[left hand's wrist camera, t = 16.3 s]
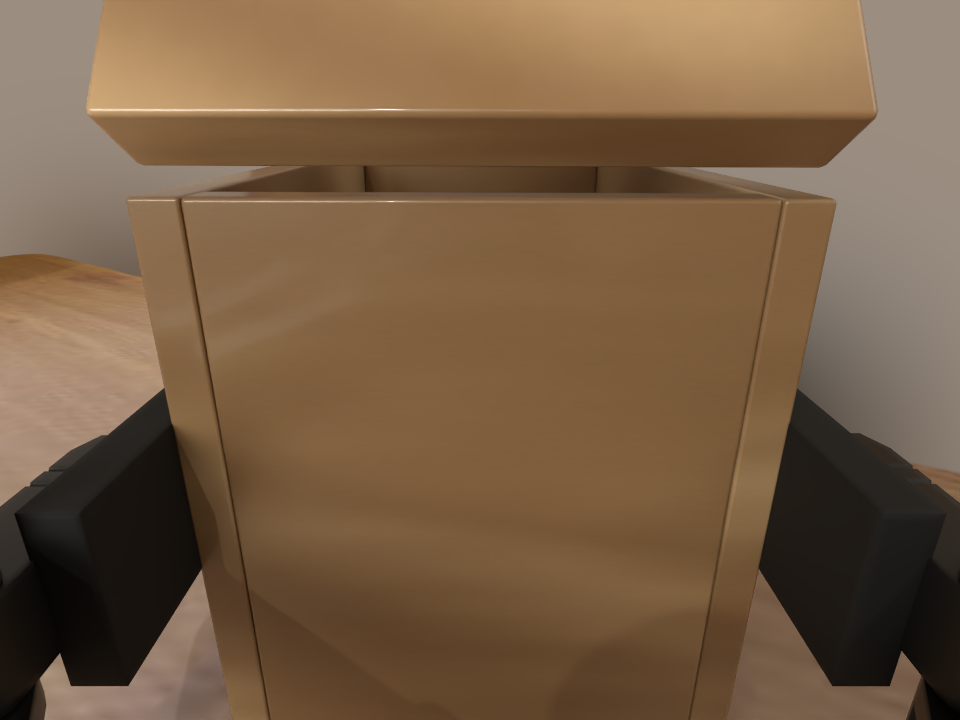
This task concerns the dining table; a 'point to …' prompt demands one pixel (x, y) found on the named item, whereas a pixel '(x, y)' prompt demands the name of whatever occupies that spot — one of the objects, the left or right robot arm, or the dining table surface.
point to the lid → (482, 82)
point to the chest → (480, 429)
